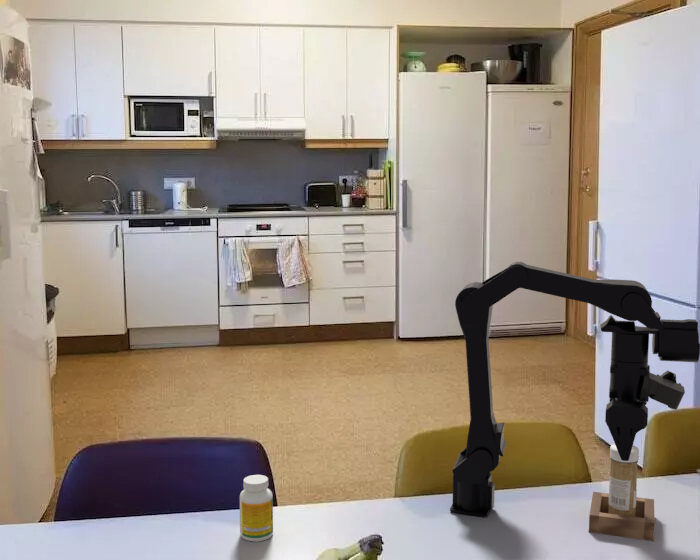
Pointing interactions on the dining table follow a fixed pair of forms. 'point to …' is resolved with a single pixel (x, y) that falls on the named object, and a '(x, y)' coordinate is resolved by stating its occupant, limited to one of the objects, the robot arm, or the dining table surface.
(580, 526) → the dining table surface
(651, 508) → the walnut socket
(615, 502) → the sprinkles bottle
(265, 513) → the supplement bottle
